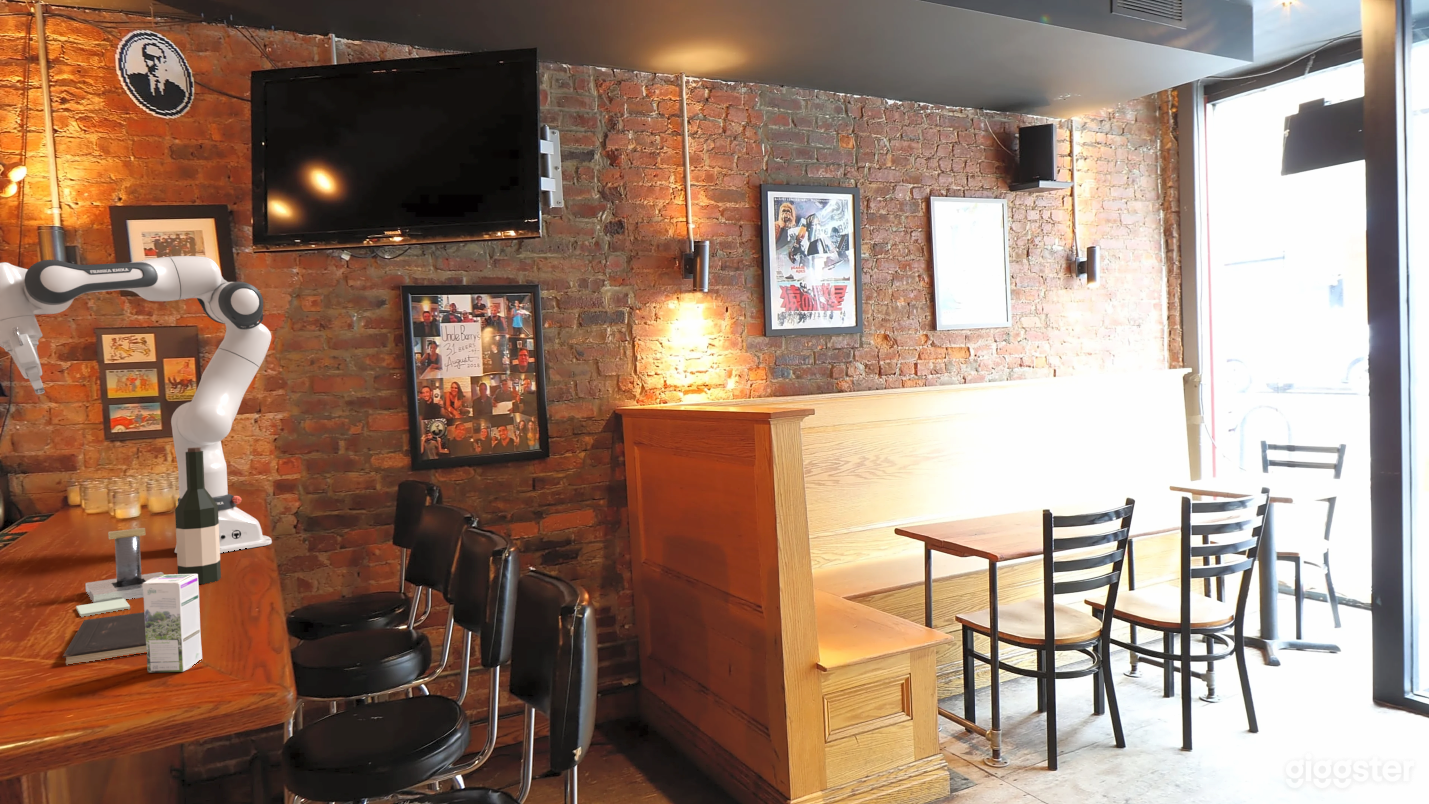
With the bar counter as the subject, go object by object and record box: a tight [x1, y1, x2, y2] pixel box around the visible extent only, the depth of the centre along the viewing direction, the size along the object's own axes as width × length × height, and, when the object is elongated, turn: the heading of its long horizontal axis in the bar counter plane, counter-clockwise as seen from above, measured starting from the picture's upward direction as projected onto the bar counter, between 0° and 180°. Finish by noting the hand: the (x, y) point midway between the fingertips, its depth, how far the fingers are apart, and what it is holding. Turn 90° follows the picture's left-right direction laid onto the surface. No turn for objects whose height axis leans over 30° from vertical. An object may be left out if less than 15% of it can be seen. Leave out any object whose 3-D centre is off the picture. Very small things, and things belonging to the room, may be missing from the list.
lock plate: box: [85, 571, 166, 603], centre depth 186 cm, size 14×14×2 cm
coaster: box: [75, 598, 131, 618], centre depth 174 cm, size 8×8×1 cm
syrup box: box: [143, 573, 203, 673], centre depth 138 cm, size 6×6×14 cm
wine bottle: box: [174, 447, 222, 585], centre depth 195 cm, size 8×8×30 cm
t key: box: [108, 527, 146, 588], centre depth 186 cm, size 6×4×13 cm
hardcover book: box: [62, 611, 147, 666], centre depth 154 cm, size 16×23×2 cm
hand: (39, 391), depth 201 cm, fingers open, 8 cm apart
